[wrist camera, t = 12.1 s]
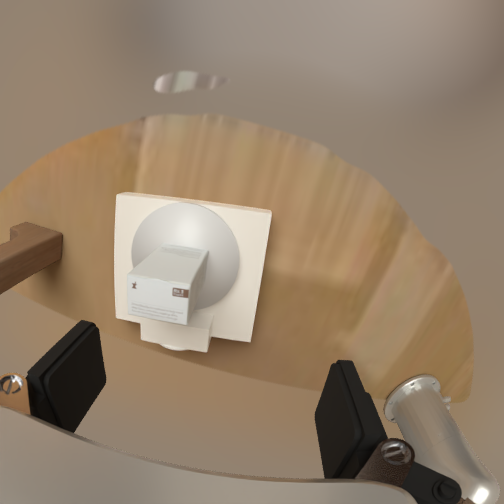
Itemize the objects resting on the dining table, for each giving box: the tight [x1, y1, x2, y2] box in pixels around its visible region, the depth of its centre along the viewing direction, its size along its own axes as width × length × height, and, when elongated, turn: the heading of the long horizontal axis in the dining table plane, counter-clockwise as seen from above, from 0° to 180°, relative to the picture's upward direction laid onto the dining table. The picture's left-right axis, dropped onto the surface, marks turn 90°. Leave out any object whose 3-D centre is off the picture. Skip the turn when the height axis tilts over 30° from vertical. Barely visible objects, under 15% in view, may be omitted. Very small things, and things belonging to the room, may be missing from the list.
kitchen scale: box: [114, 192, 272, 352], centre depth 38 cm, size 20×18×8 cm
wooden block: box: [0, 222, 62, 294], centre depth 32 cm, size 9×4×18 cm, turn 76°
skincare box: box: [127, 243, 209, 325], centre depth 31 cm, size 6×4×12 cm
